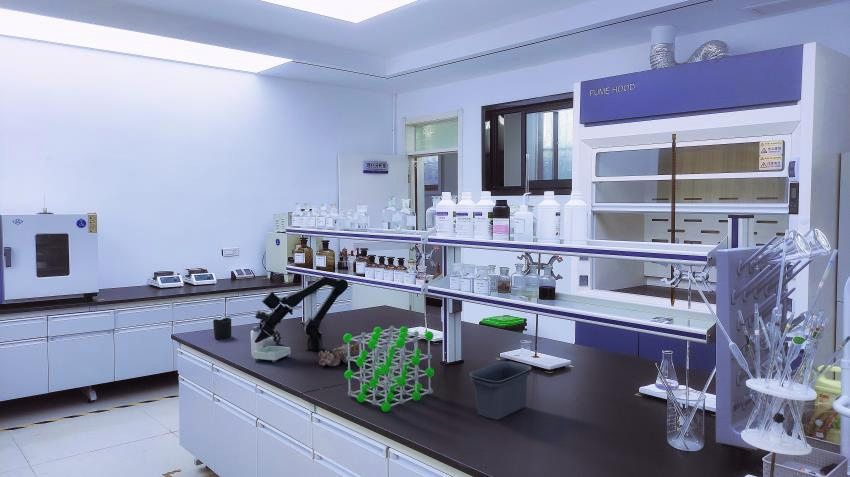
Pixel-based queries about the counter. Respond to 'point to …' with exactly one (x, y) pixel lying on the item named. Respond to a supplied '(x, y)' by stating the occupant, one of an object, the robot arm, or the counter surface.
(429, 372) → the molecular structure model
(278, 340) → the valve
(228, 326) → the pen holder
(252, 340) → the bottle
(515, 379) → the storage bin
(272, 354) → the shallow mint tray
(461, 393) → the counter surface
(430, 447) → the counter surface
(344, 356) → the mineral formation
